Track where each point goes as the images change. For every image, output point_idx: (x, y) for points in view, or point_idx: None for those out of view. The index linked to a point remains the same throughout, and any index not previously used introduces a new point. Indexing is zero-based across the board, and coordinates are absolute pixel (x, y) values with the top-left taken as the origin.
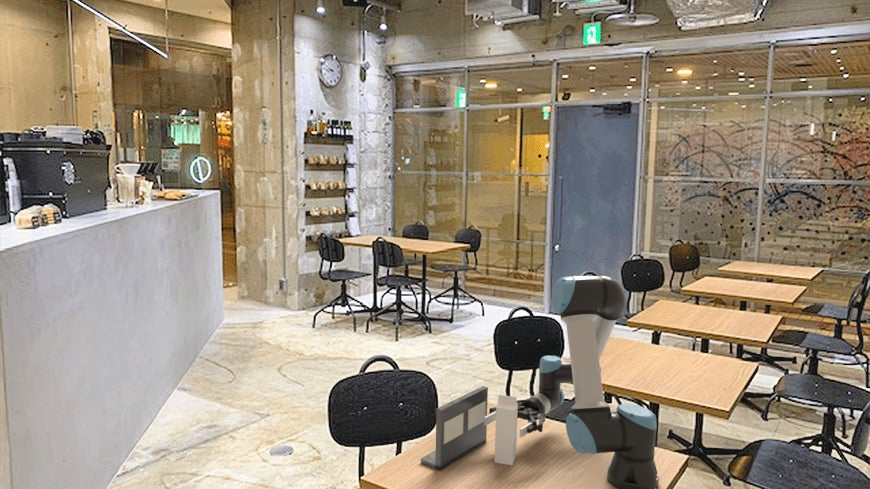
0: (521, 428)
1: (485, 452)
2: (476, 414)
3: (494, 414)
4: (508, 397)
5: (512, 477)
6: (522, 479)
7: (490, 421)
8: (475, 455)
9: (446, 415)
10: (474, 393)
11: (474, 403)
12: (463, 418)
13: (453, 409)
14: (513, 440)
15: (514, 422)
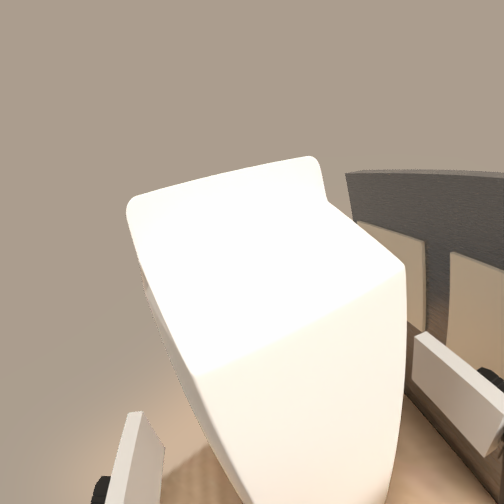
0: (134, 419)
1: (423, 490)
2: (499, 326)
3: (479, 403)
4: (223, 191)
5: (202, 473)
6: (169, 484)
7: (440, 401)
8: (416, 450)
9: (361, 200)
10: (500, 177)
11: (496, 245)
12: (430, 272)
13: (381, 194)
14: (224, 471)
15: (189, 402)
